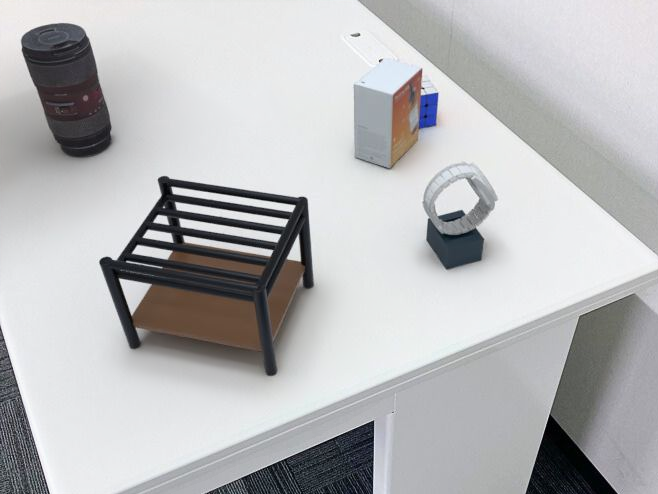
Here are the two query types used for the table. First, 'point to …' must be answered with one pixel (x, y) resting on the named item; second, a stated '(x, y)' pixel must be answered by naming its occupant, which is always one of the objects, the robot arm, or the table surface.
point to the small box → (387, 112)
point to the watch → (458, 216)
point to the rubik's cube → (428, 103)
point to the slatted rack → (214, 272)
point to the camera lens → (68, 87)
